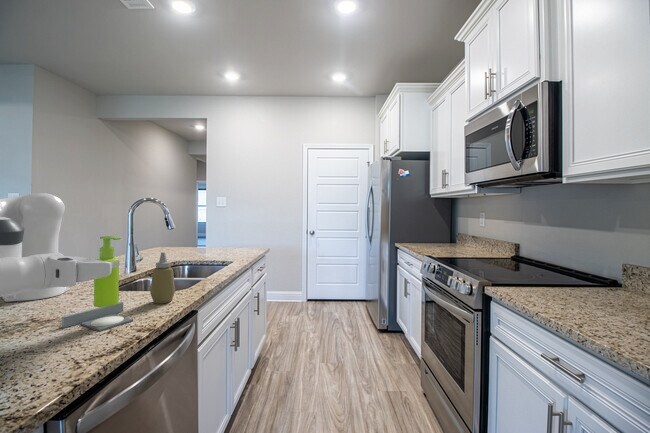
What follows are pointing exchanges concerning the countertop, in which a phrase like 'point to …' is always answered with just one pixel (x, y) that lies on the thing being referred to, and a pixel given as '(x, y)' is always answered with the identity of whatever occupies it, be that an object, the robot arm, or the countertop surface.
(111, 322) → the mat
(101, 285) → the soap dispenser
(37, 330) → the countertop surface
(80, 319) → the acrylic wall
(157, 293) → the squeeze bottle
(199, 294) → the countertop surface
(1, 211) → the robot arm
